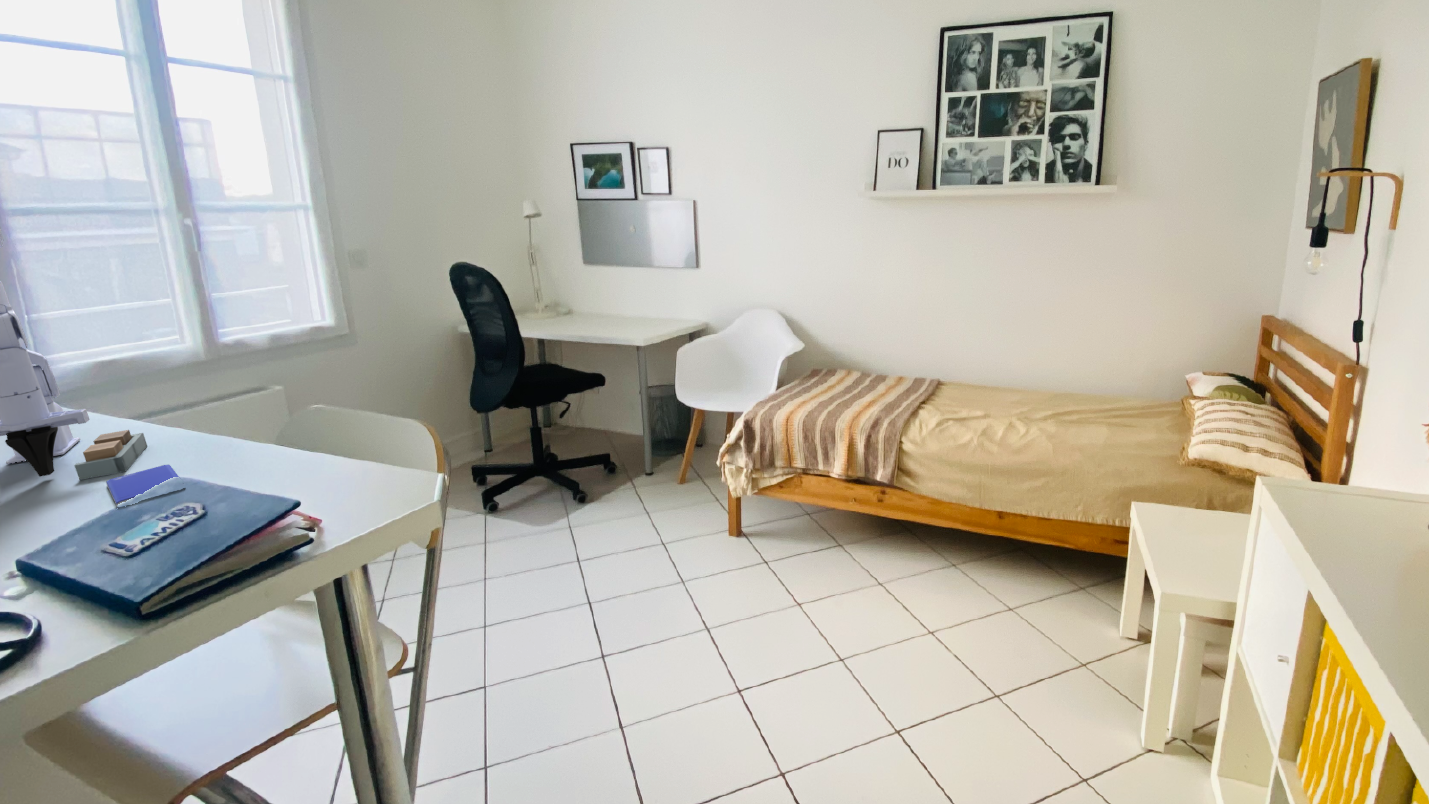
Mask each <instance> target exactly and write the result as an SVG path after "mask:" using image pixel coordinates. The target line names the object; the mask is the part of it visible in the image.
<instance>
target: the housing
mask: <svg viewBox="0 0 1429 804" xmlns="http://www.w3.org/2000/svg"><path fill="white" fill-rule="evenodd" d="M131 437H132V439H131V440H130V441H129V442H128V443H127V444H126V445H122V446H123V449H122V450H121V451H120V452H119V453H118V454H117V455H116V456H115V457H109V458H104V459H98V460H93V461H87V462H86V461H82V462H77V463H75V464H74V468H75V471H76V473H77V476H78V477H77V478H78V479H79V481H83V480H88V479H93V478H98V477H103V476H109V475H114V474H119V473H124V472H127V470H129V468H130V467H131V466H132V465H133V464H134V462H136V460H137V459H138V458H139V456H141V454H142V453H143V452H144V450H146V448H147V447H148V443H147V441H146V437H145V435H144V432H139V433H135V434H131Z"/></svg>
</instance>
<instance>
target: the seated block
mask: <svg viewBox="0 0 1429 804" xmlns="http://www.w3.org/2000/svg"><path fill="white" fill-rule="evenodd" d="M131 435H132V434H131V431H130V430H129V429H125V430H119V431H114V432H107V433H102V434H100V435H99V436H97V438H95V439H94V440H93V445H95V444H101V443H107V442H112V441H118V440H121V443H122V445H126V444H127V443H128V442H129V441H130V440H131V439H132V437H131Z"/></svg>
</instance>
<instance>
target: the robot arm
mask: <svg viewBox="0 0 1429 804" xmlns="http://www.w3.org/2000/svg"><path fill="white" fill-rule="evenodd" d="M3 242H4V237H3V235H2V229H1V227H0V249H1V248H2V247H4V244H3ZM20 320H21V319H20V317H19V316H18V315H17V314H16V312H15V310H14V308H13V306H12V305H11V303H10V300H9V297H8V294H7V292H6V288H5V286H4V283H3V282H2V280H1V279H0V437H2V436H3V437H4V436H6V439H5V440H4V443H5V444H6V446H8V448H9V447H10V448H11V449H12V451H13V453H14V455H13V456H11V457H10V458H9V459H8V460H5V464H7V465H10V464H9V463H12V464H16V463H15V462H17V463H22V462H21V461H23V462H27V463H28V464H29V465H30V466H31V468H33V470H34V471H35V473H37V475H38V477H45V476H50V475H52V474H53V473H54V472H55V467H54V466H55V465H54V457H56V456H60V455H64V454H66V453H67V452H68V451H69V450H70V449H71V448H73V447H74V445H76V444H77V443H78V442H80V440H81V437H78V436H77V437H73V433H72V431H71V430H72V429H71V428H70V426H69V425H76V424H77V425H81V424H86V423H88V422H89V421H90V416H89V414H88V410H87V409H86V408H82V409H75V410H74V409H73V410H64V409H63V408H62V406H61V405H59V404H58V403H57V402H55V401H54V399H55V398H56V399H57V398H58V397H59V396H60V395H61V393H60V390H59V387H58V384H57V381H56V379H55V376H54V373H53V371H52V367H51V365H50V364H49V362H48V359H47V357H46V356H44V355H43V354H42V353H41V352H36V351H34V350H31V349H28V348H29V347H28V345H29V343H28V340H27V339H28V338H27V337H26V333H25V332H24V328H23V325H22V322H21V321H20ZM20 339H21V340H23V343H24V345H25V347H26V348H25V347H22V346H21V343H20V341H19V340H20ZM53 398H54V399H53ZM25 460H27V461H25Z"/></svg>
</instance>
